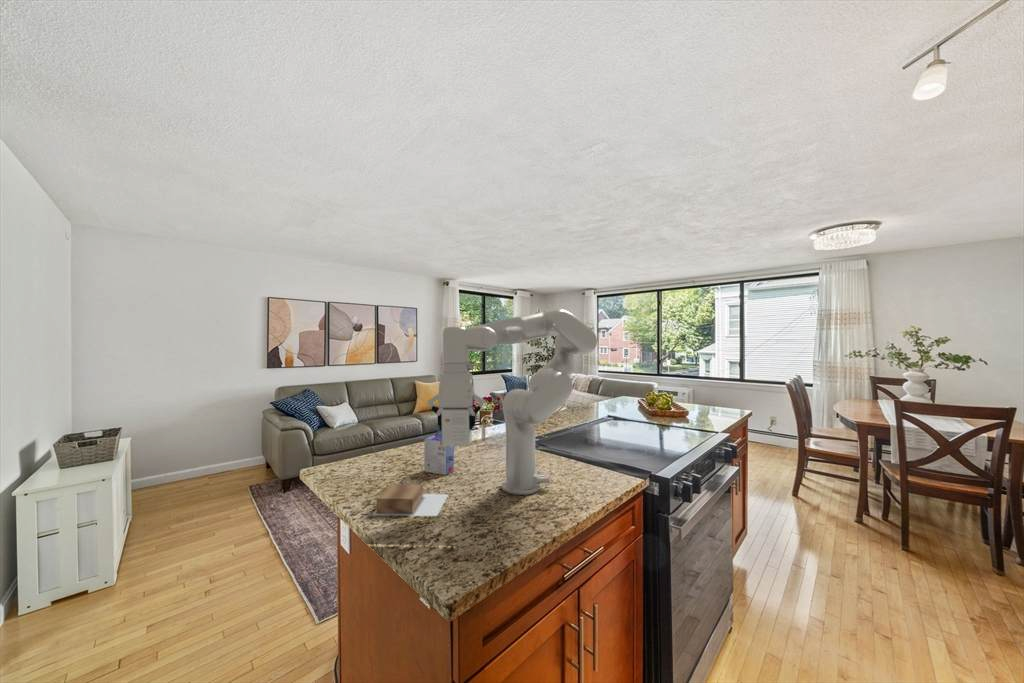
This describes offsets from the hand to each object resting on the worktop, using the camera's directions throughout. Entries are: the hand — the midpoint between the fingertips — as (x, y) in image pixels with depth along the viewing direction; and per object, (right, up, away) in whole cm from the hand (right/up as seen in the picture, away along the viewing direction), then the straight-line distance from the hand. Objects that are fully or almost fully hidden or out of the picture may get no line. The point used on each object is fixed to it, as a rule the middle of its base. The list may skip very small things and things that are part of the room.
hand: (456, 428), depth 109 cm
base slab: (-16, -22, -2) cm, 27 cm away
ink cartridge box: (-10, -22, +27) cm, 36 cm away
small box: (0, -5, 0) cm, 5 cm away
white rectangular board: (-13, -22, -1) cm, 25 cm away
